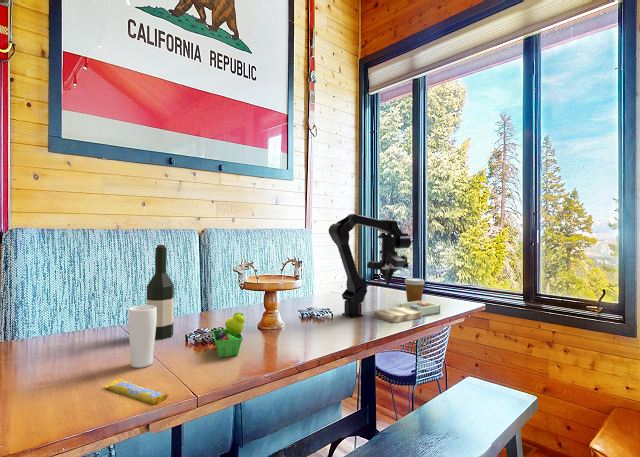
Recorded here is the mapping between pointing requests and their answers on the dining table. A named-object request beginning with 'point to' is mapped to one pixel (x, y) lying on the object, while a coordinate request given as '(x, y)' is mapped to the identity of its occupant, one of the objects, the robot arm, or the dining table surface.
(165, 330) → the wine bottle
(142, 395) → the candy bar
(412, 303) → the tray
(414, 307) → the slate tile
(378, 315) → the board
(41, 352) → the dining table surface
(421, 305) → the terracotta tile
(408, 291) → the disposable coffee cup
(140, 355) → the drinking glass
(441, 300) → the dining table surface
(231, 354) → the fruit basket
